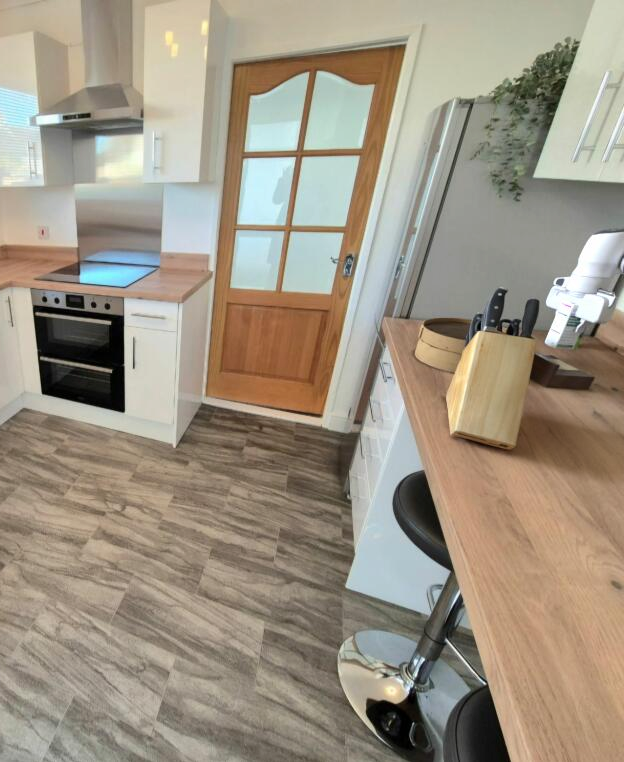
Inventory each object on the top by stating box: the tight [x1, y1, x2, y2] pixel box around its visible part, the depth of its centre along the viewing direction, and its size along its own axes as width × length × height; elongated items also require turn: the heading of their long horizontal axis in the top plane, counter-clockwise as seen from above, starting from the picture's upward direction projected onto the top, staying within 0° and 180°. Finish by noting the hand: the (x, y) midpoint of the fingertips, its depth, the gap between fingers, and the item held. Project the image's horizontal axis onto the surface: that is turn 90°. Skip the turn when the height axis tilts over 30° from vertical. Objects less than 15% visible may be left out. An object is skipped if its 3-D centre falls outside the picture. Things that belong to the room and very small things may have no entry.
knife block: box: [445, 286, 541, 450], centre depth 103 cm, size 11×35×31 cm, turn 147°
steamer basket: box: [414, 317, 520, 374], centre depth 139 cm, size 25×25×11 cm
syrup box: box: [544, 301, 588, 351], centre depth 135 cm, size 6×6×14 cm
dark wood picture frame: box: [529, 351, 596, 390], centre depth 129 cm, size 11×16×7 cm
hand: (567, 328), depth 136 cm, fingers closed on syrup box, 6 cm apart
